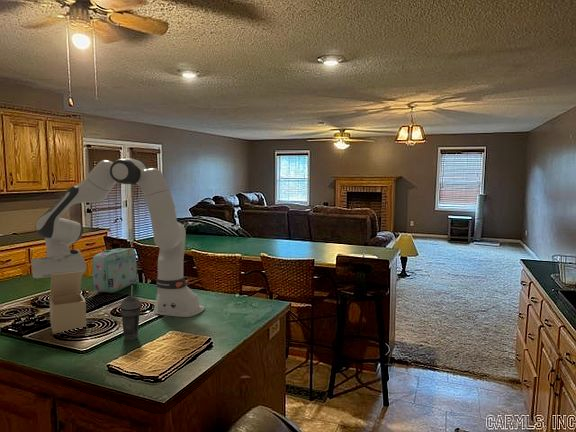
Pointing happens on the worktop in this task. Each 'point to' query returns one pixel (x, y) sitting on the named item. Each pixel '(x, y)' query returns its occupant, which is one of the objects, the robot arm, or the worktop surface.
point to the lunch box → (114, 269)
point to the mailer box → (67, 312)
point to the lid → (65, 283)
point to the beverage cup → (130, 316)
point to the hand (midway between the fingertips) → (61, 283)
